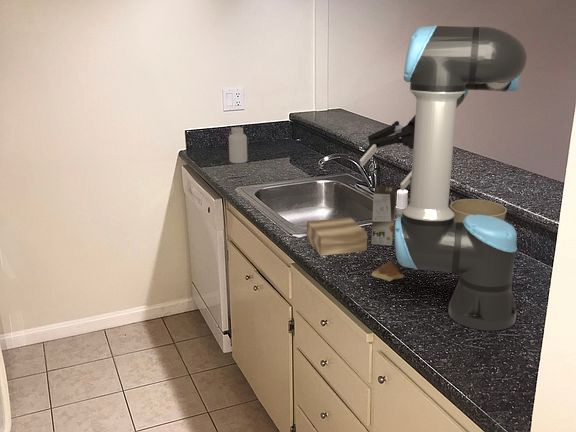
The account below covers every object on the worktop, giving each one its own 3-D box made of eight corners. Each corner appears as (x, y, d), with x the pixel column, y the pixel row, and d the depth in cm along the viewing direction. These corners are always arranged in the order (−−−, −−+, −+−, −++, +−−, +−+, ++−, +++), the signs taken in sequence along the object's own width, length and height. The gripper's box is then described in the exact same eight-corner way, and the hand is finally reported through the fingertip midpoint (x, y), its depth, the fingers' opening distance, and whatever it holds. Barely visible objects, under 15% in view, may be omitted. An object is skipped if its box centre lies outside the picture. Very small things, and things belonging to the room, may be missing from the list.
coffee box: (392, 246, 196) (395, 194, 191) (370, 244, 197) (372, 193, 192) (394, 235, 204) (396, 185, 199) (373, 234, 206) (375, 184, 200)
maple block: (366, 252, 192) (367, 232, 191) (320, 256, 189) (320, 237, 187) (349, 235, 205) (350, 217, 203) (306, 239, 202) (306, 221, 200)
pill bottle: (225, 162, 292) (224, 128, 287) (237, 158, 298) (236, 125, 293) (239, 164, 287) (238, 130, 283) (251, 161, 294) (250, 127, 289)
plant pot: (458, 273, 177) (463, 217, 172) (437, 252, 191) (441, 200, 186) (510, 269, 179) (517, 214, 174) (486, 249, 193) (491, 197, 188)
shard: (391, 264, 184) (391, 258, 183) (415, 271, 179) (416, 265, 179) (370, 277, 176) (370, 271, 175) (395, 284, 171) (395, 278, 171)
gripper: (465, 149, 181) (419, 204, 176) (391, 111, 193) (346, 161, 187) (466, 133, 175) (419, 190, 169) (389, 94, 186) (343, 146, 180)
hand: (380, 175), depth 178 cm, fingers open, 13 cm apart
